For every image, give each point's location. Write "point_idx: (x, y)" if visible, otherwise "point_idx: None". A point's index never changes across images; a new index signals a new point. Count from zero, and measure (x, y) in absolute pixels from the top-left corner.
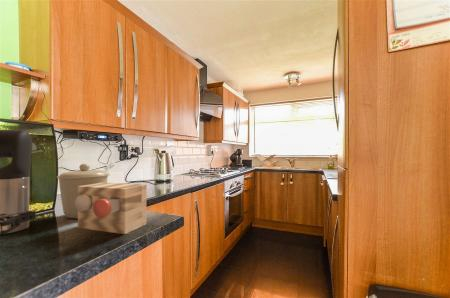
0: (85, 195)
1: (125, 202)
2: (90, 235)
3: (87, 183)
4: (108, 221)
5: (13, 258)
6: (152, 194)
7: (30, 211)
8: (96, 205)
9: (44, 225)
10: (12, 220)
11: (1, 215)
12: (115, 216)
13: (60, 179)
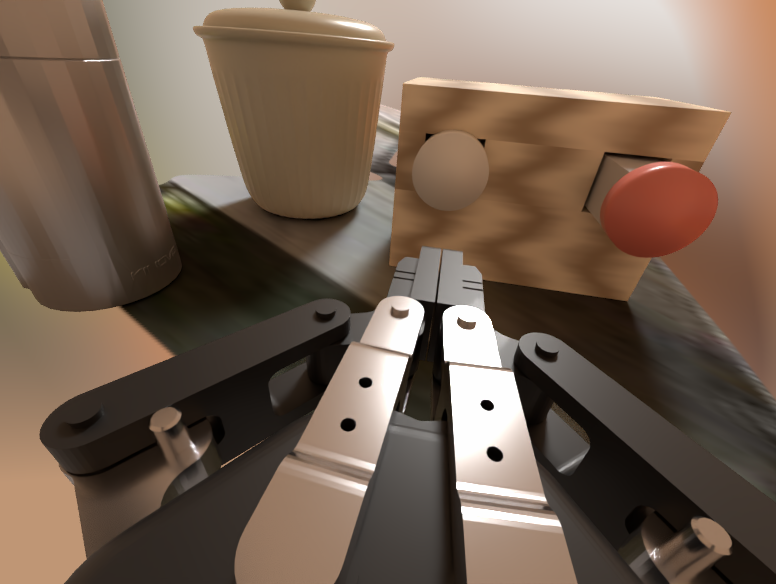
0: (470, 135)
1: None
2: (512, 310)
3: (358, 76)
4: (556, 253)
5: None
6: (380, 136)
7: (452, 257)
8: (643, 199)
9: (234, 251)
10: (706, 461)
11: (459, 378)
12: (603, 237)
13: (234, 42)
